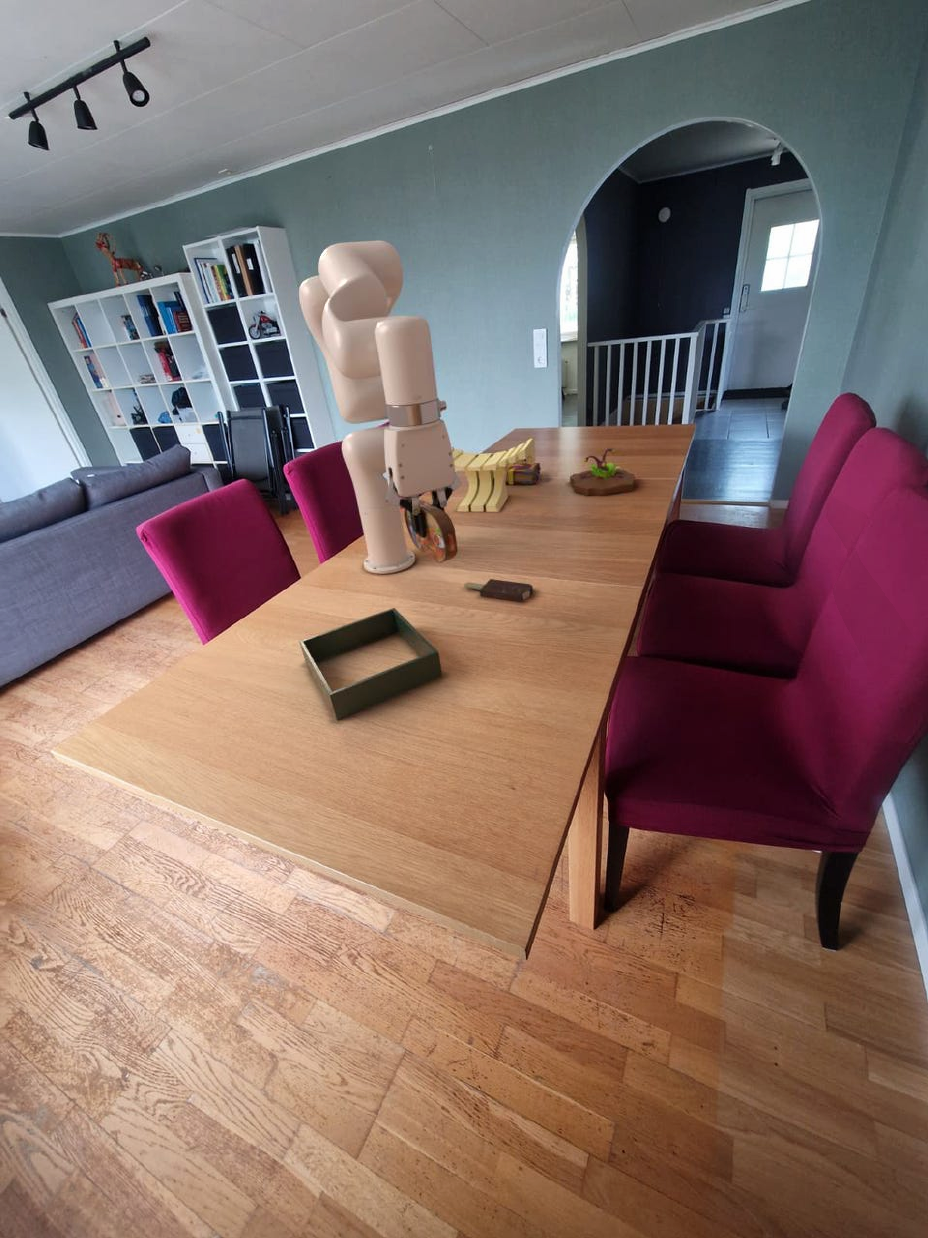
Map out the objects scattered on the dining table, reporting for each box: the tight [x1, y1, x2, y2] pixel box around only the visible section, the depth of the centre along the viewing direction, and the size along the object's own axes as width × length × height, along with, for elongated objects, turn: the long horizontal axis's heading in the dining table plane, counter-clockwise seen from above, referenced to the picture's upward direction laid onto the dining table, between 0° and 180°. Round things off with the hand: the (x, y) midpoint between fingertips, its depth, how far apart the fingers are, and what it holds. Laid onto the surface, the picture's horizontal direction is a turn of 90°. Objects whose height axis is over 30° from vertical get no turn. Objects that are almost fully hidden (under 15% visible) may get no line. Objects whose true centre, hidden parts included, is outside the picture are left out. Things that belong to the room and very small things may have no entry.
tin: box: [404, 499, 459, 564], centre depth 84 cm, size 15×3×8 cm, turn 29°
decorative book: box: [505, 461, 542, 485], centre depth 175 cm, size 11×16×5 cm
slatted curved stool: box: [451, 437, 536, 513], centre depth 154 cm, size 30×16×18 cm, turn 74°
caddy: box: [298, 607, 443, 722], centre depth 87 cm, size 18×18×5 cm
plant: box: [569, 448, 637, 496], centre depth 159 cm, size 20×20×11 cm
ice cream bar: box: [463, 578, 534, 603], centre depth 107 cm, size 5×2×15 cm
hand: (429, 531), depth 84 cm, fingers closed on tin, 2 cm apart
